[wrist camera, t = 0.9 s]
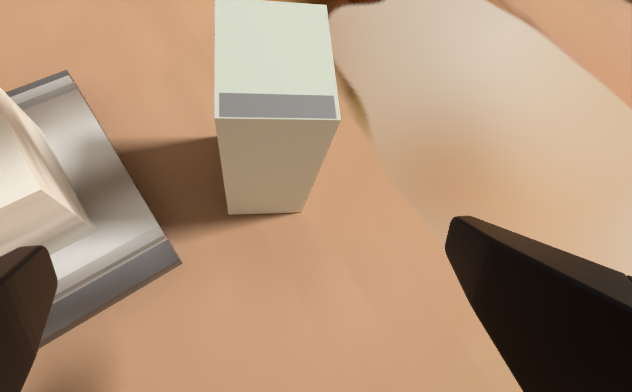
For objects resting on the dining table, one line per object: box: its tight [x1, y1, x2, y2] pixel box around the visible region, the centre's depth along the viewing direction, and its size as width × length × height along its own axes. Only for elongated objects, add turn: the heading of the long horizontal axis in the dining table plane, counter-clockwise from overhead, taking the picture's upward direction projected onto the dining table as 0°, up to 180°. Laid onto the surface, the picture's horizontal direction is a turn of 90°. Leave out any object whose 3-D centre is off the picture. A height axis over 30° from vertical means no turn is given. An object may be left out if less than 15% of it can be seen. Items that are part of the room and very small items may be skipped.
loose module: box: [215, 0, 341, 215], centre depth 20 cm, size 6×4×11 cm
